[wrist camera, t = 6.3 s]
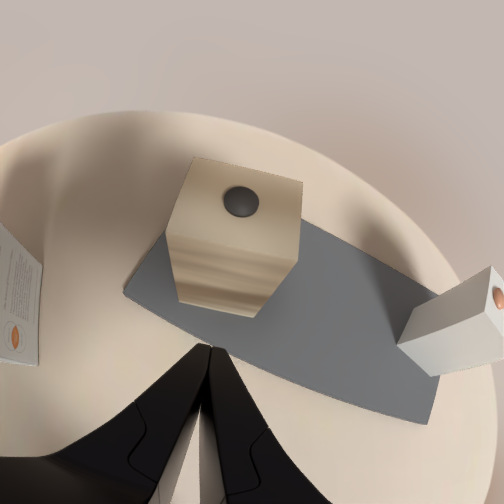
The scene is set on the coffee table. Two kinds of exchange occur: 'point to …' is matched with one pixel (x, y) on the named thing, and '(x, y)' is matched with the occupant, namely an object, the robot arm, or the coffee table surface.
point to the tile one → (233, 236)
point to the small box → (18, 301)
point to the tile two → (458, 327)
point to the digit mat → (314, 325)
